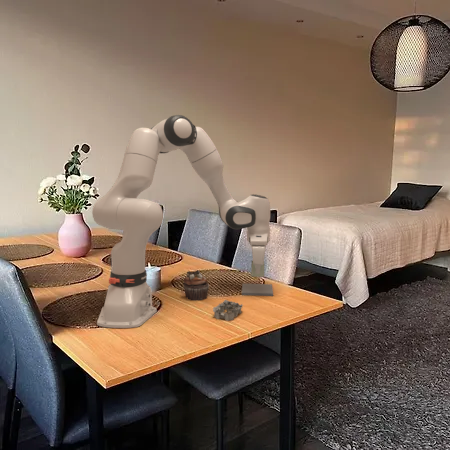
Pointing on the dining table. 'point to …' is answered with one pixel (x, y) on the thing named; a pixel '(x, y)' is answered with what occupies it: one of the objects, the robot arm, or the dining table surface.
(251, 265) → the cube
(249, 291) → the slate plate
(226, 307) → the egg carton
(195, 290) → the cupcake
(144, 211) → the robot arm
